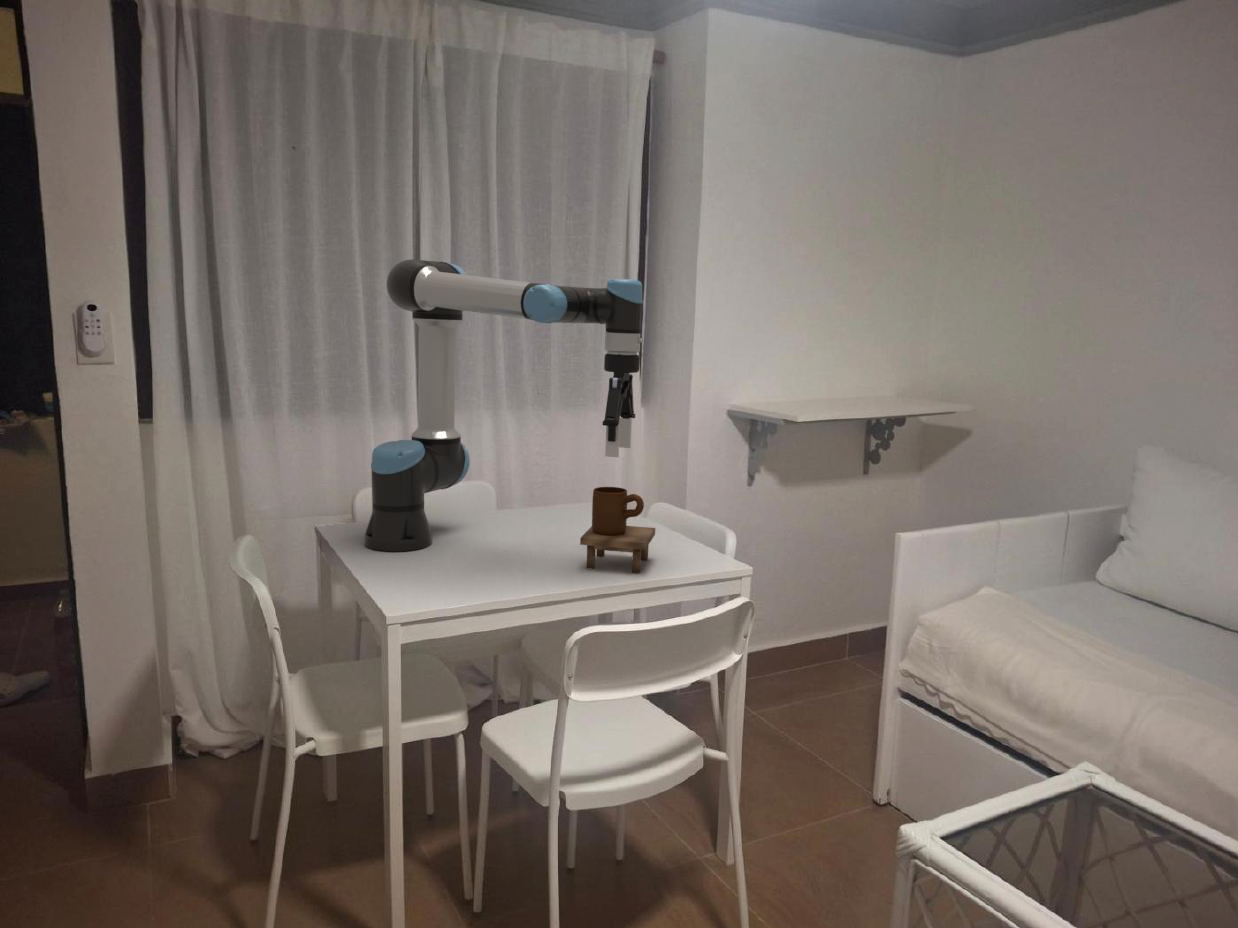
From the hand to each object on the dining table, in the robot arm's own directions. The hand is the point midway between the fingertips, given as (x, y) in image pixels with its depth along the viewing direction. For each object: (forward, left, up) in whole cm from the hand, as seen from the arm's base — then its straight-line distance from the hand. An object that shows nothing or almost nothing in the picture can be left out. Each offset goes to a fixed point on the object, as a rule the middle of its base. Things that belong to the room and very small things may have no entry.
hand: (618, 452), depth 195 cm
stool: (+1, -1, -25) cm, 25 cm away
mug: (+1, -1, -18) cm, 18 cm away
